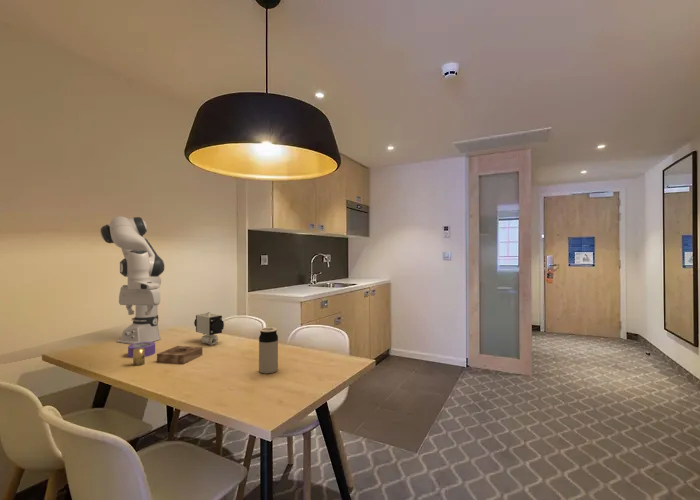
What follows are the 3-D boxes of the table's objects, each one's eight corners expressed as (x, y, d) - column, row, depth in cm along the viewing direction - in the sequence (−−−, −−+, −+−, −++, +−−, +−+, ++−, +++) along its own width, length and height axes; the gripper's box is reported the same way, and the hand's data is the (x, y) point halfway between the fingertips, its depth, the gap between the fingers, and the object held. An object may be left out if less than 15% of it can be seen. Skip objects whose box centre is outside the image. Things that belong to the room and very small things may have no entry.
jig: (156, 362, 157) (156, 353, 157) (177, 353, 171) (177, 345, 171) (183, 364, 155) (183, 355, 155) (202, 355, 168) (202, 347, 168)
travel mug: (266, 375, 140) (266, 332, 140) (255, 371, 145) (255, 329, 146) (281, 370, 146) (281, 328, 146) (270, 366, 151) (270, 326, 152)
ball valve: (226, 344, 188) (226, 312, 188) (212, 348, 181) (212, 314, 181) (207, 339, 198) (207, 309, 198) (193, 343, 191) (193, 311, 191)
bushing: (130, 365, 153) (130, 350, 153) (138, 362, 157) (138, 347, 157) (139, 366, 152) (139, 350, 152) (146, 363, 156) (146, 348, 156)
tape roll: (151, 357, 166) (151, 346, 166) (124, 359, 163) (124, 348, 163) (157, 350, 177) (158, 340, 177) (132, 352, 174) (132, 342, 174)
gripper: (114, 285, 155) (115, 315, 155) (151, 285, 150) (152, 316, 150) (126, 284, 161) (127, 313, 161) (162, 284, 156) (163, 314, 156)
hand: (139, 314), depth 156 cm, fingers open, 8 cm apart
